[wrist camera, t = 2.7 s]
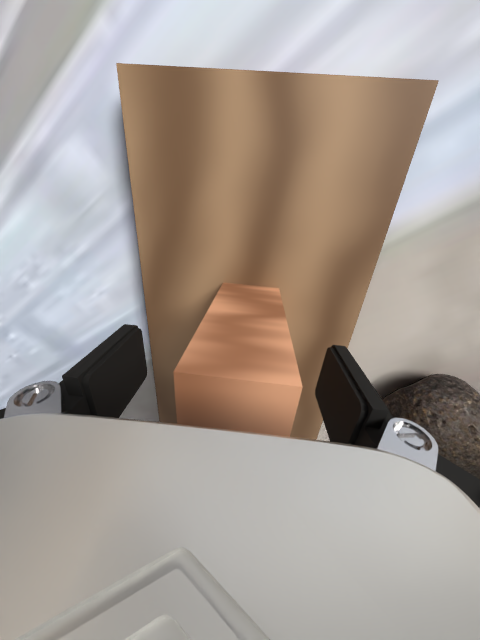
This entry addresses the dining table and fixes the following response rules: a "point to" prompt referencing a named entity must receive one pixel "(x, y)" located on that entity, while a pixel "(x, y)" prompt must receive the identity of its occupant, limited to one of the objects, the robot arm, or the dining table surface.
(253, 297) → the l-shaped wooden block
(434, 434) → the stone
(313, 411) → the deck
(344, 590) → the robot arm
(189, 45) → the dining table surface
